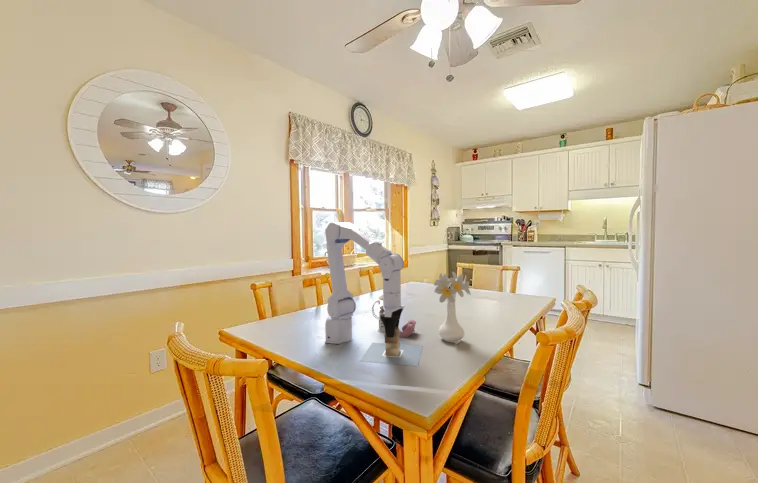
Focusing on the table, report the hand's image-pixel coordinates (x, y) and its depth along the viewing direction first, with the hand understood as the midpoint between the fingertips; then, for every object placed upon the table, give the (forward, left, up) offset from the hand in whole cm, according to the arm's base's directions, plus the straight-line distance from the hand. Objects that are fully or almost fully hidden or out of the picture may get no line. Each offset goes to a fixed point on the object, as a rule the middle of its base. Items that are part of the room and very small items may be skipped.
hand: (392, 333), depth 101 cm
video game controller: (+2, +21, -8) cm, 22 cm away
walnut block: (0, 0, -3) cm, 3 cm away
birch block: (0, 0, -7) cm, 7 cm away
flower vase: (+19, +16, -8) cm, 26 cm away
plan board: (0, 0, -7) cm, 7 cm away
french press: (-7, +24, -8) cm, 26 cm away
